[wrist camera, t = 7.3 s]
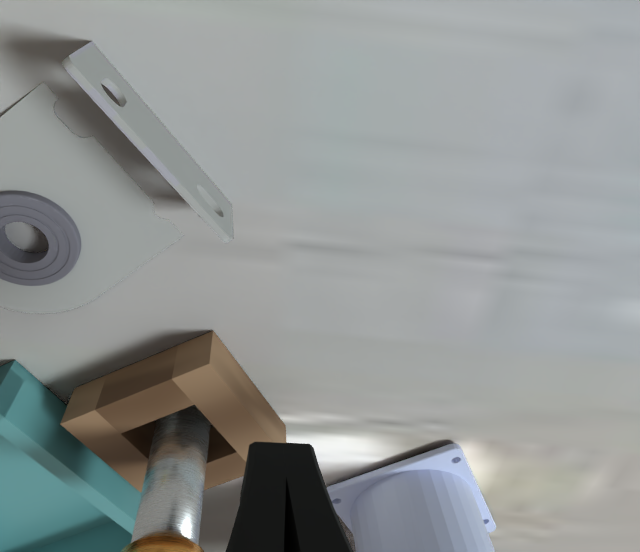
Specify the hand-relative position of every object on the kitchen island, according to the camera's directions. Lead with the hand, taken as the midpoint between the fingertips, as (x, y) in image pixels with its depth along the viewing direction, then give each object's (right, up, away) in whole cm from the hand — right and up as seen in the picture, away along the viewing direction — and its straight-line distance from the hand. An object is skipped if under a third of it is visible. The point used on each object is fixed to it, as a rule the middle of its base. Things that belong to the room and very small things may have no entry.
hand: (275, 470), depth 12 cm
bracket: (-7, +7, +7) cm, 12 cm away
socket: (-5, -2, +12) cm, 14 cm away
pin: (-5, -2, +12) cm, 14 cm away
